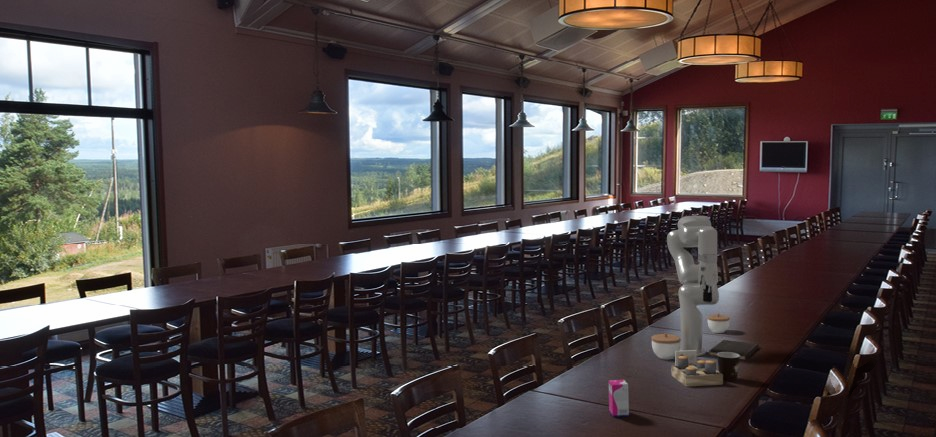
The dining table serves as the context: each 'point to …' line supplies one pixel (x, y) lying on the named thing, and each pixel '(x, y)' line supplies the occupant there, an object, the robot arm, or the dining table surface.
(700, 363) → the button
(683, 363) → the button
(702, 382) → the button board
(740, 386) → the dining table surface
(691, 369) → the button
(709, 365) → the button
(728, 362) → the coffee mug
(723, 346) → the hardcover book
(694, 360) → the card
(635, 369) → the dining table surface
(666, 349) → the lidded bowl
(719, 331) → the lidded jar
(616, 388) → the supplement box
